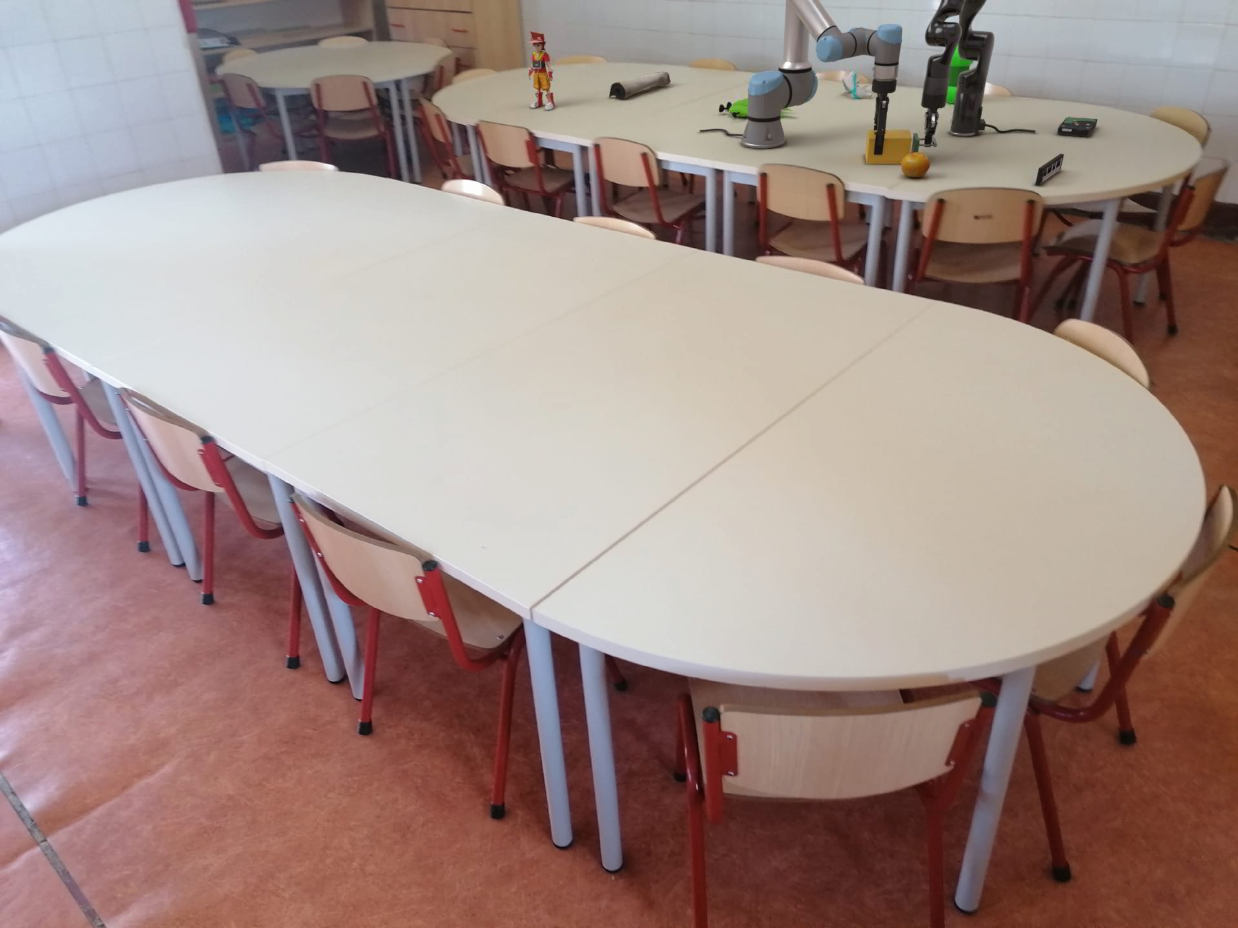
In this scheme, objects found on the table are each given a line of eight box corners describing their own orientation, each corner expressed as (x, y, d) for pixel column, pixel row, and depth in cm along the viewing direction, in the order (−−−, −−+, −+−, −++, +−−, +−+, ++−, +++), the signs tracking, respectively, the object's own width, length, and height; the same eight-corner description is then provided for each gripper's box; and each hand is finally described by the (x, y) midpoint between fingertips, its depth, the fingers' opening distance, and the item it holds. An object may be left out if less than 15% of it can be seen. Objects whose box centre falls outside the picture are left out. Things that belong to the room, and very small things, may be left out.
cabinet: (906, 155, 301) (909, 130, 297) (908, 164, 293) (912, 138, 289) (865, 155, 304) (867, 130, 299) (866, 164, 296) (869, 138, 291)
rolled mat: (651, 76, 408) (662, 61, 399) (662, 93, 408) (674, 79, 400) (605, 92, 391) (616, 77, 383) (617, 110, 391) (628, 95, 383)
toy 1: (525, 109, 381) (517, 32, 364) (534, 104, 388) (527, 28, 371) (550, 110, 377) (543, 32, 360) (559, 105, 384) (553, 28, 367)
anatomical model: (837, 70, 373) (861, 64, 372) (839, 96, 379) (863, 89, 378) (847, 78, 361) (872, 71, 360) (850, 104, 367) (874, 98, 366)
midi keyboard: (1039, 185, 269) (1043, 168, 266) (1035, 184, 270) (1038, 168, 267) (1060, 170, 279) (1064, 154, 277) (1056, 169, 280) (1060, 153, 277)
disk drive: (1089, 138, 306) (1096, 126, 316) (1091, 129, 305) (1098, 118, 315) (1056, 135, 311) (1064, 124, 321) (1058, 126, 309) (1066, 115, 320)
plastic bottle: (973, 101, 354) (984, 32, 339) (955, 106, 349) (966, 36, 335) (952, 97, 361) (962, 29, 346) (934, 102, 356) (944, 33, 342)
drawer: (932, 152, 299) (935, 133, 295) (935, 160, 292) (938, 140, 288) (876, 153, 302) (878, 133, 298) (878, 160, 295) (880, 140, 291)
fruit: (895, 167, 279) (911, 144, 276) (896, 170, 287) (913, 147, 284) (917, 183, 278) (934, 160, 275) (918, 184, 285) (935, 162, 282)
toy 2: (709, 116, 351) (780, 128, 338) (711, 102, 348) (782, 114, 336) (739, 105, 371) (807, 117, 359) (741, 92, 368) (809, 103, 356)
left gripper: (870, 71, 294) (863, 140, 307) (874, 87, 276) (867, 160, 289) (894, 70, 293) (886, 140, 306) (899, 86, 275) (891, 160, 288)
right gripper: (920, 86, 290) (913, 141, 300) (925, 96, 280) (917, 152, 289) (945, 86, 289) (936, 141, 299) (950, 95, 278) (941, 152, 288)
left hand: (877, 150), depth 297 cm, fingers closed on cabinet, 10 cm apart
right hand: (927, 146), depth 294 cm, fingers closed
